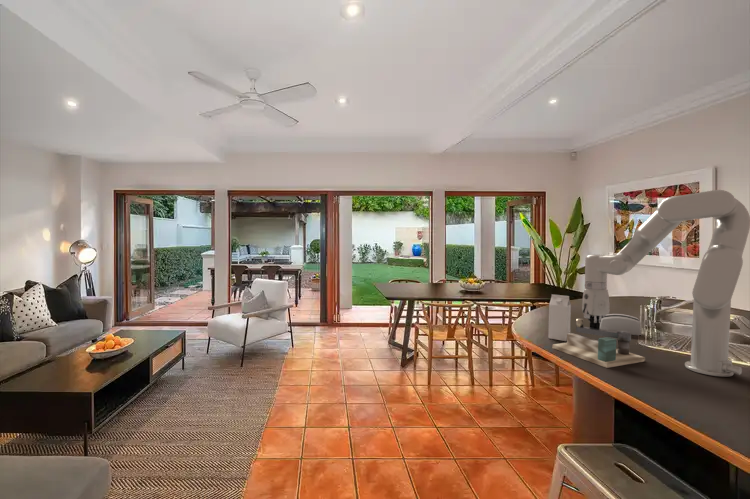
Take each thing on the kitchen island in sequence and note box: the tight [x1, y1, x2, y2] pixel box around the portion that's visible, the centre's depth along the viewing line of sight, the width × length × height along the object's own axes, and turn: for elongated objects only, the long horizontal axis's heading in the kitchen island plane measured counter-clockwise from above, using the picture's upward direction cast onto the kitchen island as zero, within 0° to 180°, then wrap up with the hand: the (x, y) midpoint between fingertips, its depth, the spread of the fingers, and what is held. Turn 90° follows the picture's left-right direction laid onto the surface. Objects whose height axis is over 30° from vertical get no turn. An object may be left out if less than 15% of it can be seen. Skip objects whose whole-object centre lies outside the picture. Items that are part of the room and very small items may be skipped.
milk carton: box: [548, 293, 572, 342], centre depth 171 cm, size 7×7×19 cm
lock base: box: [552, 332, 646, 369], centre depth 149 cm, size 24×19×9 cm
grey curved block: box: [599, 313, 642, 336], centre depth 181 cm, size 17×5×10 cm, turn 63°
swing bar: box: [575, 318, 632, 343], centre depth 150 cm, size 18×4×6 cm, turn 48°
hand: (594, 331), depth 155 cm, fingers closed
